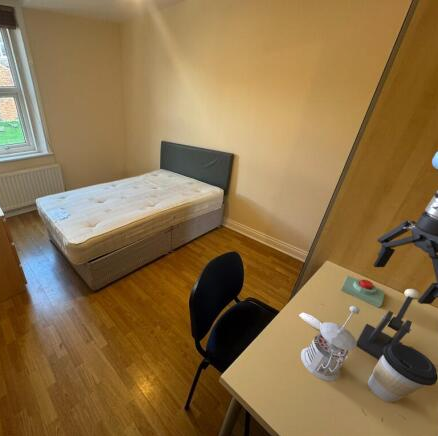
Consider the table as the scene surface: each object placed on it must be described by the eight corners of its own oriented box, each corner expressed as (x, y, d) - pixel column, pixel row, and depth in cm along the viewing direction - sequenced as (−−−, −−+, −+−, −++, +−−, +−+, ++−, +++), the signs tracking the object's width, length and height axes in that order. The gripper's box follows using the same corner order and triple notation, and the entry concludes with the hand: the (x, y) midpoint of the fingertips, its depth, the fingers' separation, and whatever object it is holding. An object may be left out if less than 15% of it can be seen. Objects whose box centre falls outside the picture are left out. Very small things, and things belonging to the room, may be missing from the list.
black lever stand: (364, 326, 80) (383, 300, 73) (400, 346, 73) (424, 320, 67) (354, 345, 74) (373, 319, 68) (392, 368, 68) (417, 342, 61)
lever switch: (405, 289, 74) (409, 285, 72) (419, 295, 72) (424, 291, 70) (384, 325, 70) (388, 321, 68) (398, 333, 68) (403, 329, 66)
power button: (372, 286, 91) (374, 282, 90) (370, 290, 88) (372, 287, 88) (360, 281, 93) (362, 278, 92) (358, 285, 91) (360, 282, 90)
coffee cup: (359, 392, 63) (387, 361, 55) (360, 364, 69) (385, 333, 61) (407, 420, 57) (446, 391, 50) (404, 387, 63) (438, 357, 56)
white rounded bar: (322, 335, 77) (325, 329, 76) (297, 318, 83) (299, 313, 81) (326, 329, 79) (329, 324, 77) (301, 313, 84) (304, 308, 83)
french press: (338, 358, 70) (378, 302, 58) (341, 395, 62) (388, 339, 50) (301, 341, 75) (331, 286, 63) (299, 374, 67) (332, 318, 54)
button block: (382, 295, 91) (387, 287, 89) (379, 308, 86) (384, 300, 84) (345, 279, 99) (349, 272, 97) (340, 290, 94) (344, 282, 92)
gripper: (383, 195, 65) (352, 254, 75) (499, 249, 43) (432, 322, 54) (411, 195, 65) (375, 254, 75) (541, 249, 43) (465, 322, 54)
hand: (399, 282), depth 64 cm, fingers open, 13 cm apart
